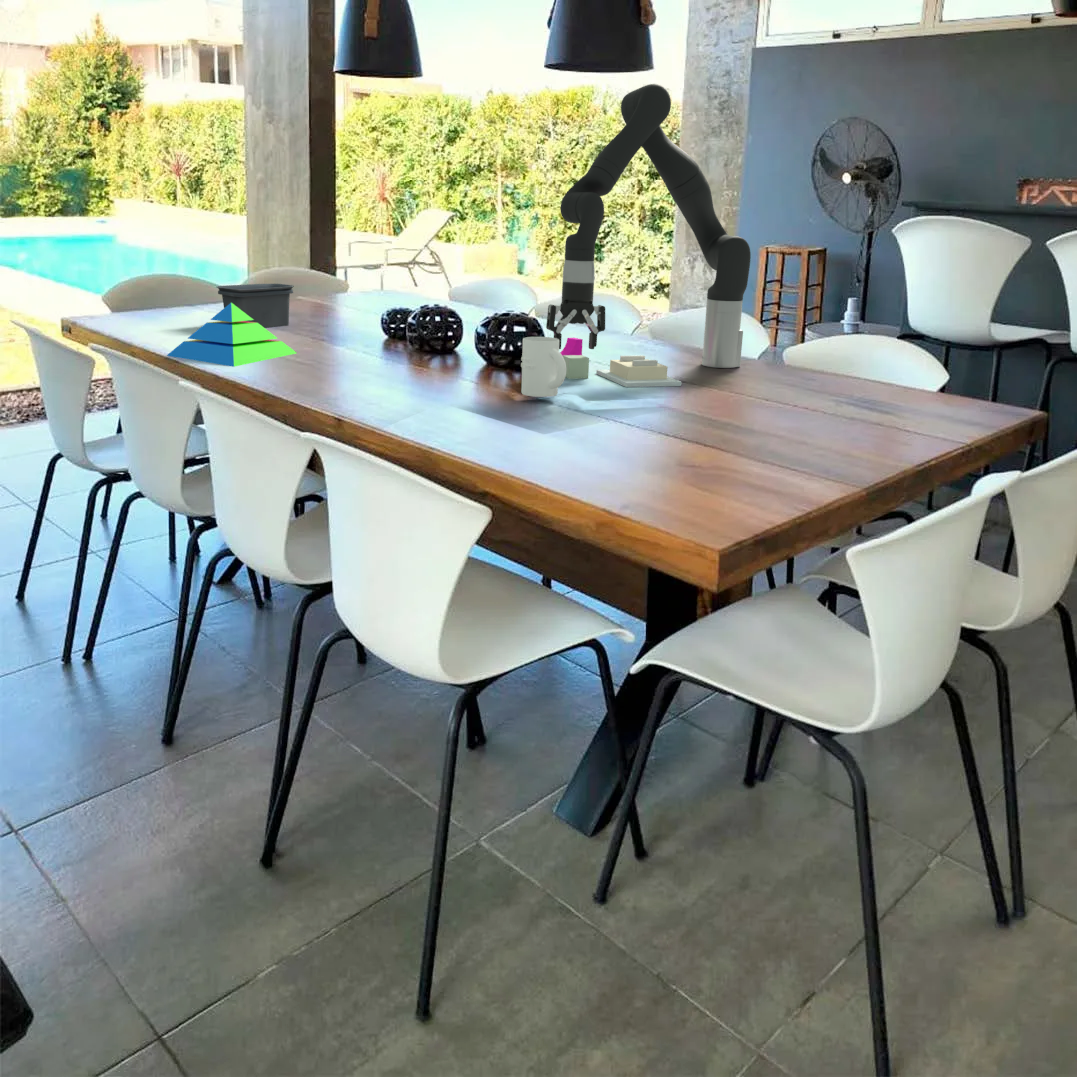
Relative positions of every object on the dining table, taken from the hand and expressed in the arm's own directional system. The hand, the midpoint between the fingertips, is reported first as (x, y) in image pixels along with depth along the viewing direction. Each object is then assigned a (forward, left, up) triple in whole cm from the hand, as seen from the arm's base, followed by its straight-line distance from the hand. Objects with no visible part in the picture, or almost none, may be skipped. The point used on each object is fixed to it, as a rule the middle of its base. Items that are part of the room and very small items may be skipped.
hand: (574, 348), depth 251 cm
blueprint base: (-14, +6, -7) cm, 17 cm away
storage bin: (+71, -92, -7) cm, 116 cm away
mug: (+15, +24, -7) cm, 29 cm away
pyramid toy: (+79, -44, -8) cm, 90 cm away
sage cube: (0, 0, -7) cm, 7 cm away
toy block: (0, -12, -7) cm, 14 cm away
